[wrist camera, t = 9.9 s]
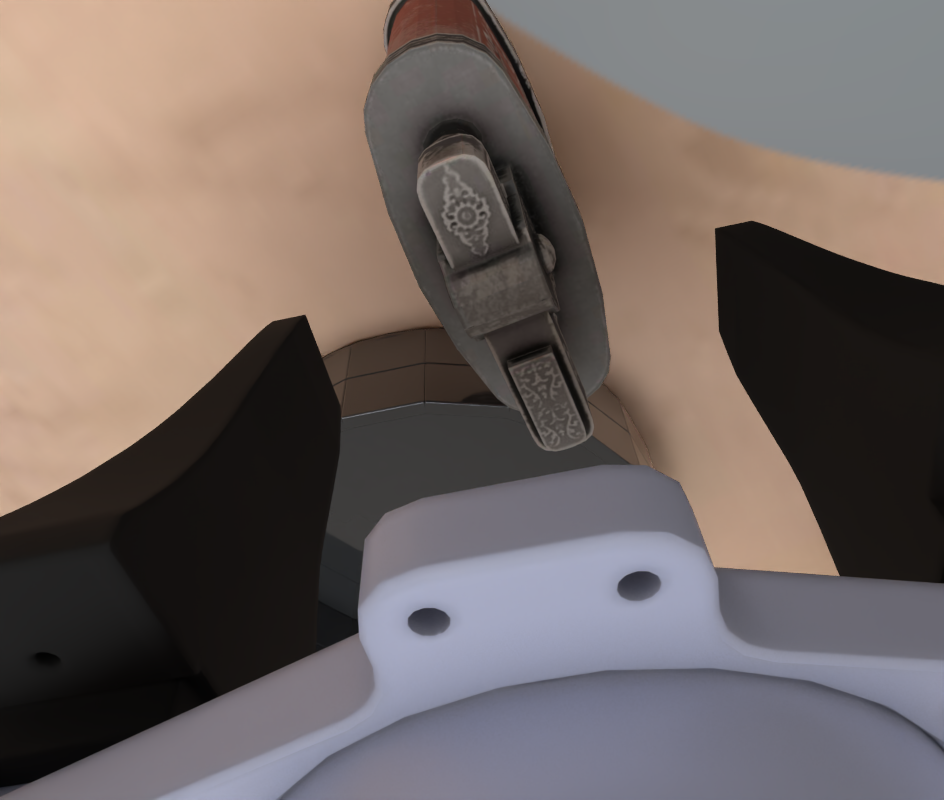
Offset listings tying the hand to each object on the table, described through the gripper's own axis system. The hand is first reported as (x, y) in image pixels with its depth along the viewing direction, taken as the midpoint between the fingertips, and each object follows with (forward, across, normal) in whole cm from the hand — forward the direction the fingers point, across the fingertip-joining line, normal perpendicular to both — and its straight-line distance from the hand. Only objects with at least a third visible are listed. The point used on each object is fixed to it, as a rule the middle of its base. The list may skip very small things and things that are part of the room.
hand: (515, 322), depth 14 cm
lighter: (+10, 0, 0) cm, 10 cm away
